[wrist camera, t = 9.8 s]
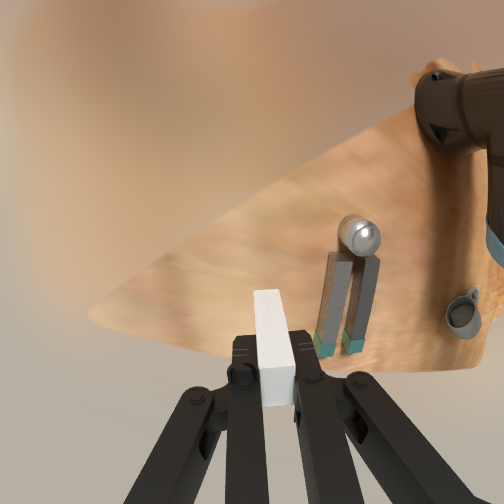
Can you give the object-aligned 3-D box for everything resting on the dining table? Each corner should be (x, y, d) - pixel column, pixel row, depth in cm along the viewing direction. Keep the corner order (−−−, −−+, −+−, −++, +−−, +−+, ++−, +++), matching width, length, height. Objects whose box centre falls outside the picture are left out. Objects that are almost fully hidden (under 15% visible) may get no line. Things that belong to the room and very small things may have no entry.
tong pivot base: (338, 213, 39) (349, 221, 34) (375, 214, 39) (388, 221, 35) (324, 342, 47) (330, 358, 43) (354, 339, 47) (362, 354, 43)
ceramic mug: (451, 330, 49) (468, 349, 42) (438, 316, 47) (458, 335, 40) (478, 295, 46) (498, 311, 39) (468, 277, 44) (490, 293, 37)
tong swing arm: (332, 216, 38) (345, 226, 34) (367, 218, 39) (382, 228, 34) (313, 343, 47) (319, 363, 42) (342, 341, 47) (350, 360, 42)
